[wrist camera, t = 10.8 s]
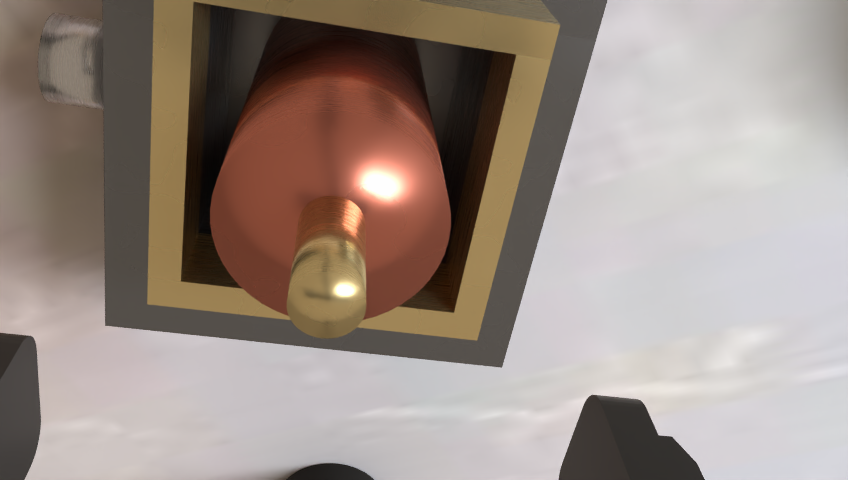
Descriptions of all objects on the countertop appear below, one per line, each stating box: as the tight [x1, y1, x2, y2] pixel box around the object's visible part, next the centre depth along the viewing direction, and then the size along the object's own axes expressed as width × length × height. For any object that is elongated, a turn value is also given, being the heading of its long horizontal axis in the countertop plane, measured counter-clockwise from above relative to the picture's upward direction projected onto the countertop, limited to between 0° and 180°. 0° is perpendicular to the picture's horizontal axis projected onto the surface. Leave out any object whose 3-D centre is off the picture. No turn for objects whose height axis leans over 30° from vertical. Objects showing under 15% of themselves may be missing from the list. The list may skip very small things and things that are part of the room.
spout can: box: [210, 16, 451, 339], centre depth 20 cm, size 5×5×13 cm
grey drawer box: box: [38, 0, 607, 367], centre depth 23 cm, size 14×14×8 cm
